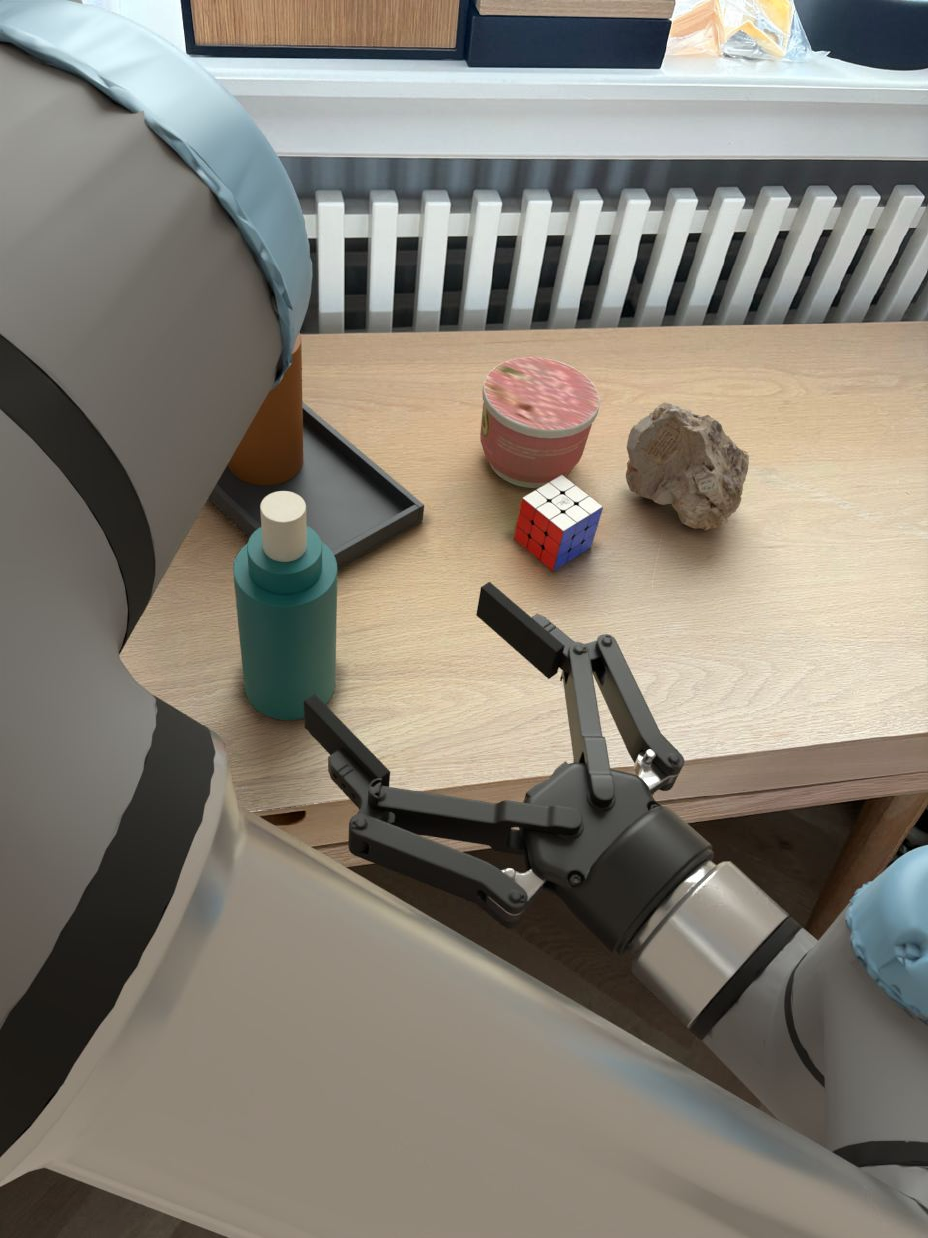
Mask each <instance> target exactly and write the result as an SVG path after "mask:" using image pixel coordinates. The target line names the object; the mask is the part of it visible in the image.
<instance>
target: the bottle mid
mask: <svg viewBox="0 0 928 1238" xmlns="http://www.w3.org/2000/svg"><path fill="white" fill-rule="evenodd" d="M302 350H303V349H302V335H301V333H300V331H299V334H298V337H297V339H296V342H295V346H294V349H293V352H292V364H291V365H290V366H289V368H288V369H287V370H286V372H285V373H284V376H283V378H282V380H281V382H280V383H279V384H278V385H277V386H276V387H275V388H273V389H272V390H271V391H269V393H268V395H267V396H266V398H265V400H264V402H263V403H262V405H261V407H260V409H259V410H258V412H257V414H256V416H255V417H254V419H253V421H252V423H251V424H250V426H249V428H248V430H247V431H246V433H245V435H244V437H243V438H242V440H241V442H240V444H239V445H238V447H237V449H236V451H235V452H234V454H233V456H232V458H231V459H230V461H229V463H228V468H229V469H230V471H231V472H232V473H233V474H234V475H235V476H236V477H237V478H239V479H240V480H242V481H245V482H247V483H250V484H255V485H275V484H280V483H283V482H285V481H288V480H290V479H291V478H293V477H294V476H295V475H296V474H297V473H298V472H299V471H300V470H301V468H302V465H303V406H302V402H303V361H302V359H303V356H302V355H303V354H302V352H303V351H302Z"/></svg>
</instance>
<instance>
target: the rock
mask: <svg viewBox="0 0 928 1238" xmlns="http://www.w3.org/2000/svg"><path fill="white" fill-rule="evenodd" d="M626 451H627V455H628V459H629V460H628V461H627V462H626V470H625V480H626V484H627V486H628V488H629V490H630V492H631V493H634V494H636V495H638V496H641V497H642V498H645V499H648V500H652V501H653V503H656V504H658V505H662V506H667V505H669V504H671V507H672V508H673V509H674V510H675V511H676V513H677V515H678V518H679V520H680V522H681V523H682V524H684V525H686V526H687V527H689V528H691V529H703V530H704V531H708V530H709V529H716V528H717V527H718V526H720V525H723V524H725V523H727V522H728V519H729V517H730V516H732V514H734V513H735V512H736V511H737V509H738V508H739V507H740V504H741V502H742V499H743V498H742V495H743V491H744V483H745V481H746V478H747V474H748V471H749V464H750V455H749V454H748V453H749V452H748V451H746V450H744V449H743V450H742V449H741V448H740V447H738V446H737V444H736V443H735V442H734V441H733V440H732V439H731V438H730V436H729V435H727V434H726V432H725V430H724V429H723V425H722V424H721V423H720V422H719V421H718V420H716V418H714V417H711V416H710V415H709V414H706V415H703V416H702V415H700V414H697V413H693V411H692V410H689V409H685V408H682V407H681V406H678V405H677V404H672V403H670V402H662V403H660V404H659V405H658V406H657V407H656V408H654V409H653V411H652V412H650V413H649V414H648V415H646V416H645V417H643V418H642V419H640V420H639V421H638V422H637V424H634V425H633V426H632V428H630V431H629V434H628V438H627V443H626Z"/></svg>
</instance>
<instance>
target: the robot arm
mask: <svg viewBox="0 0 928 1238" xmlns="http://www.w3.org/2000/svg"><path fill="white" fill-rule="evenodd" d="M306 228H307V227H306V219H305V216H304V213H303V210H302V207H301V203H300V200H299V197H298V194H297V192H296V190H295V188H294V185H293V183H292V181H291V178H290V177H289V174H288V173H287V171H286V169H285V167H284V164H283V163H282V161H281V159H280V157H279V156H278V154H277V152H276V150H275V149H274V147H273V146H272V144H271V143H270V141H269V140H268V138H267V136H266V135H265V134H264V132H263V131H262V130H261V128H260V127H259V126H258V124H257V123H256V121H255V120H254V119H253V118H252V117H251V115H250V114H249V113H248V112H247V110H246V109H245V107H244V106H243V105H242V103H240V102H239V101H238V100H237V98H236V97H235V96H234V95H233V94H232V93H231V92H230V91H229V90H228V89H227V88H226V87H225V86H224V85H223V84H222V83H221V82H220V81H219V80H218V79H217V78H216V77H215V76H213V74H212V73H211V72H209V71H208V70H207V69H206V68H205V67H203V65H201V64H200V63H199V62H198V61H197V60H195V59H194V58H193V57H191V56H190V55H189V54H188V53H186V52H185V51H183V50H182V49H181V48H179V47H178V46H177V45H175V44H174V43H173V42H171V41H170V40H168V39H167V38H166V37H164V36H162V35H160V34H159V33H157V32H155V31H153V30H152V29H150V28H148V27H146V26H144V25H142V24H140V23H139V22H136V21H135V20H133V19H130V18H129V17H127V16H124V15H121V14H119V13H117V12H114V11H111V10H108V9H105V8H102V7H100V6H97V5H94V4H88V3H86V4H85V3H81V2H77V1H71V0H0V1188H1V1187H3V1186H4V1185H7V1184H8V1183H10V1182H12V1181H14V1180H16V1179H17V1178H19V1177H21V1176H24V1175H25V1174H27V1173H29V1172H33V1171H36V1170H40V1169H41V1170H42V1169H48V1170H50V1171H53V1172H55V1173H57V1174H61V1175H63V1176H66V1177H68V1178H71V1179H74V1180H76V1181H78V1182H81V1183H84V1184H87V1185H90V1186H92V1187H95V1188H97V1189H100V1190H101V1191H102V1190H103V1191H105V1192H107V1193H111V1194H113V1195H116V1196H119V1197H121V1198H123V1199H126V1200H129V1201H132V1202H134V1203H137V1204H139V1205H142V1206H145V1207H147V1208H150V1209H152V1210H155V1211H158V1212H160V1213H163V1214H166V1215H168V1216H171V1217H173V1218H176V1219H179V1220H181V1221H184V1222H187V1223H189V1224H192V1225H195V1226H197V1227H200V1228H202V1229H205V1230H208V1231H211V1232H213V1233H216V1234H218V1235H221V1236H223V1237H227V1238H928V844H926V845H922V846H919V847H916V848H913V849H912V850H909V851H907V852H906V853H904V854H903V855H901V856H899V857H898V858H897V859H895V860H894V861H893V863H891V864H890V865H889V866H888V867H886V868H885V869H884V870H883V871H882V872H881V873H880V874H879V875H878V876H876V877H875V878H874V879H873V880H871V881H866V882H865V883H863V884H862V886H861V887H860V888H857V889H856V890H855V891H854V893H853V896H852V897H851V898H850V899H849V903H848V904H847V905H846V906H845V907H844V909H842V910H841V912H840V913H839V915H838V916H837V917H836V918H835V920H834V921H833V922H832V923H831V925H830V926H829V927H828V928H827V929H826V931H824V933H823V934H822V936H821V937H820V938H819V939H816V937H814V936H813V935H812V934H811V933H810V932H809V931H807V930H806V929H805V928H804V927H803V926H802V925H801V924H800V923H798V922H797V921H796V920H795V919H794V918H793V917H792V916H790V914H789V913H788V912H787V911H786V910H785V909H784V908H783V907H781V906H780V904H778V903H777V902H776V901H775V900H774V899H773V898H771V896H769V894H768V893H766V892H765V891H764V890H763V889H761V888H760V886H759V885H757V884H756V883H755V882H754V881H753V880H752V879H751V878H749V877H748V876H747V875H746V874H745V873H744V872H743V871H742V870H741V869H740V868H739V867H738V866H737V865H736V864H734V863H733V862H732V861H730V860H729V861H728V860H727V861H725V860H724V861H722V862H719V863H718V864H716V863H715V862H713V859H714V857H715V852H714V851H713V845H712V844H711V843H710V842H709V841H708V840H707V839H706V838H704V837H703V836H702V835H701V834H700V833H699V832H698V831H697V830H695V829H694V828H693V826H691V825H690V824H688V822H686V821H685V820H684V819H683V818H682V817H681V816H680V815H679V814H678V813H676V812H675V811H674V810H673V809H672V808H670V807H668V806H665V805H661V804H659V803H658V802H657V800H656V799H655V798H654V796H653V794H654V793H656V792H658V791H661V792H669V791H670V790H672V789H673V787H674V785H675V783H676V782H677V779H678V778H679V775H680V773H681V771H682V769H683V767H684V765H685V757H684V756H683V754H682V753H681V752H679V750H678V749H677V748H676V747H675V746H674V745H673V743H671V742H670V741H669V739H667V738H666V737H665V736H664V735H663V734H662V732H661V730H660V728H659V726H658V724H657V722H656V720H655V718H654V716H653V713H652V712H651V709H650V707H649V705H648V703H647V702H646V699H645V697H644V695H643V693H642V691H641V689H640V687H639V685H638V683H637V681H636V678H635V677H634V675H633V672H632V670H631V668H630V667H629V664H628V662H627V660H626V658H625V656H624V654H623V651H622V650H621V648H620V646H619V644H618V642H617V640H616V638H615V637H614V636H612V635H611V634H608V633H602V634H600V635H599V636H597V639H596V640H594V641H590V642H587V643H583V642H580V641H574V640H573V639H572V638H571V637H569V636H568V635H567V634H566V633H565V632H564V631H562V630H561V628H559V627H557V625H555V624H554V623H553V622H552V621H551V620H549V619H548V618H547V617H546V616H544V615H542V614H540V613H536V614H534V615H533V616H530V615H529V614H528V613H527V612H526V611H525V610H524V609H522V608H521V607H520V606H519V605H517V604H516V603H515V602H514V601H513V600H512V599H511V598H510V597H509V596H507V595H506V594H505V593H504V592H503V591H502V590H500V589H499V588H498V587H497V586H495V585H494V584H493V583H492V582H491V581H487V583H485V584H483V585H482V586H481V587H480V591H479V597H478V602H477V608H476V614H475V616H476V617H477V618H479V620H481V621H482V622H483V623H484V624H485V625H486V626H488V627H489V629H491V630H492V631H493V632H494V633H496V634H497V635H498V636H499V637H500V638H501V639H502V640H503V641H505V642H506V643H507V644H508V645H509V646H510V647H511V648H512V649H514V650H515V651H516V652H517V653H518V654H519V655H520V656H522V657H523V659H525V660H526V661H527V662H528V663H529V664H531V665H532V666H533V667H534V668H535V669H536V670H538V671H539V672H540V673H541V674H542V675H543V676H544V677H545V678H547V679H548V680H550V679H551V678H553V677H555V676H556V675H557V674H558V672H559V669H560V670H561V673H560V678H559V682H562V685H563V692H564V699H565V706H566V713H567V714H566V715H567V720H568V728H569V734H570V743H571V749H572V758H573V762H571V763H568V762H567V761H564V762H562V763H561V764H560V765H559V766H558V767H556V768H555V769H554V771H553V773H551V776H550V777H549V778H548V779H546V780H544V781H542V782H540V783H537V784H535V785H534V786H533V787H531V788H530V789H529V790H528V791H526V792H525V796H524V798H523V801H515V800H507V799H505V800H500V801H498V802H489V801H483V800H477V799H470V798H465V797H464V798H462V797H458V796H457V797H456V796H450V795H444V794H438V793H432V792H425V791H420V790H419V791H418V790H413V789H412V790H411V789H406V788H399V787H394V786H390V781H391V770H390V769H388V767H387V766H386V765H385V764H383V762H382V761H381V760H380V759H379V758H378V757H377V756H376V755H375V754H374V752H372V751H371V750H370V749H369V748H368V746H366V745H365V744H364V743H363V742H362V740H360V739H359V737H358V736H356V734H355V733H354V732H353V731H352V730H350V729H349V727H348V726H346V724H345V723H344V722H343V721H342V720H341V719H340V718H339V717H338V716H337V715H336V714H335V713H334V712H333V710H331V709H330V707H328V706H327V705H325V704H324V703H323V702H322V701H321V700H320V699H319V698H318V697H317V696H316V695H315V694H313V695H312V696H310V697H309V698H307V699H306V700H304V718H303V719H304V720H303V721H304V729H305V730H306V731H307V732H308V733H309V734H310V735H311V737H313V738H314V740H315V741H316V742H317V743H318V744H319V745H320V746H321V747H322V748H323V749H324V750H325V751H326V753H327V754H329V756H327V771H328V774H329V776H330V779H331V781H332V782H333V784H335V785H336V786H337V787H338V788H339V789H340V790H341V791H342V792H343V793H344V795H345V796H346V797H347V798H348V799H349V800H350V801H351V802H352V803H353V804H354V805H355V806H356V808H357V809H358V811H357V813H356V814H355V815H353V816H351V818H349V822H348V841H347V842H348V847H347V848H348V851H349V852H350V854H351V855H353V856H355V857H358V858H360V859H363V860H364V861H368V862H370V863H373V864H375V865H377V866H380V867H382V868H384V869H385V868H386V869H388V870H390V871H393V872H395V873H397V874H401V875H403V876H405V877H408V878H410V879H413V880H415V881H418V882H421V883H423V884H425V885H428V886H430V887H433V888H436V889H437V890H440V891H442V892H445V893H448V894H450V895H453V896H456V897H458V898H461V899H462V900H465V901H468V902H470V903H473V904H476V905H477V906H478V907H479V908H481V909H482V910H483V911H484V912H486V913H487V914H488V915H489V916H490V917H491V918H493V919H494V920H495V921H496V922H497V923H499V924H500V925H501V926H502V927H504V928H506V929H507V928H508V929H515V928H516V927H518V926H519V925H520V923H521V921H522V918H523V915H524V912H525V910H526V909H527V908H528V906H529V905H530V904H531V903H532V902H533V901H534V899H535V898H537V896H538V895H539V894H540V893H541V892H542V891H546V892H548V893H551V894H553V895H555V896H557V897H558V898H560V900H561V901H562V902H563V903H564V905H566V907H567V908H568V910H569V911H570V912H571V914H572V915H573V916H574V917H575V918H577V919H578V920H579V922H580V923H581V924H583V926H584V927H585V928H587V930H588V931H589V932H591V933H592V934H593V935H594V936H595V937H596V939H598V941H599V942H600V943H601V944H603V946H604V947H606V948H607V950H608V951H609V952H610V953H612V955H614V956H616V955H619V956H621V957H623V956H625V955H628V954H630V955H631V956H632V957H633V958H632V959H631V963H630V969H631V973H632V974H633V975H634V976H635V977H636V978H637V979H638V980H639V981H640V982H641V983H642V984H643V985H644V986H645V987H646V988H647V989H648V990H649V991H650V992H651V993H652V994H653V995H654V996H655V997H656V998H657V999H658V1000H659V1001H660V1002H661V1003H662V1004H663V1005H664V1006H665V1007H666V1008H667V1009H668V1010H669V1011H671V1012H672V1014H673V1015H674V1016H675V1017H677V1019H678V1020H679V1021H680V1022H681V1023H682V1024H683V1025H684V1026H685V1027H687V1028H688V1029H689V1031H690V1032H691V1033H692V1034H693V1035H694V1036H695V1037H696V1038H697V1040H701V1042H702V1043H703V1044H704V1045H705V1046H706V1047H707V1048H708V1049H709V1050H710V1051H711V1052H712V1053H713V1054H714V1055H715V1056H716V1057H717V1058H718V1059H719V1060H720V1061H721V1062H722V1063H723V1064H724V1066H726V1067H727V1068H728V1069H729V1070H730V1072H732V1074H733V1075H734V1076H735V1077H736V1078H737V1079H738V1080H739V1081H740V1082H741V1083H742V1084H743V1085H744V1086H745V1087H746V1088H747V1089H748V1090H749V1092H751V1093H752V1094H753V1095H754V1096H755V1097H756V1098H757V1099H758V1100H759V1101H760V1102H761V1104H762V1105H763V1106H765V1107H766V1109H768V1111H769V1112H770V1113H771V1114H772V1115H773V1116H774V1117H775V1118H774V1117H773V1116H771V1115H770V1114H768V1113H766V1112H764V1111H763V1110H761V1109H759V1108H757V1107H755V1106H754V1105H752V1104H751V1103H749V1102H748V1101H746V1100H743V1098H741V1097H739V1096H737V1095H735V1094H733V1093H732V1092H730V1091H729V1090H727V1089H725V1088H723V1087H722V1086H720V1085H718V1084H716V1083H715V1082H713V1081H711V1080H710V1079H708V1078H706V1077H705V1076H702V1074H699V1073H698V1072H696V1071H694V1070H693V1069H691V1068H690V1067H687V1066H686V1065H684V1064H683V1063H681V1062H679V1061H677V1060H676V1059H674V1058H672V1057H670V1056H669V1055H667V1054H665V1053H664V1052H662V1051H660V1050H659V1049H656V1048H655V1047H653V1046H651V1045H650V1044H648V1043H647V1042H645V1041H643V1040H641V1039H639V1038H638V1037H636V1036H635V1035H633V1034H631V1033H629V1032H628V1031H626V1030H625V1029H622V1027H619V1026H618V1025H616V1024H614V1023H612V1021H609V1020H607V1019H606V1018H603V1017H602V1016H601V1015H599V1014H597V1013H595V1012H594V1011H592V1010H590V1009H588V1008H587V1007H585V1006H584V1005H582V1004H580V1003H578V1002H577V1001H575V1000H574V999H571V998H569V997H568V996H566V995H564V994H563V993H561V992H560V991H557V990H556V989H555V988H552V987H551V986H549V985H548V984H546V983H544V982H542V981H541V980H540V979H537V978H536V977H534V976H532V975H530V974H529V973H527V972H525V971H523V970H521V969H520V968H519V967H516V966H515V965H513V964H512V963H510V962H508V961H507V960H505V959H504V958H501V957H500V956H498V955H496V954H494V953H493V952H491V951H490V950H489V949H487V948H484V947H483V946H481V945H480V944H477V943H476V942H474V941H473V940H470V939H469V938H467V937H466V936H464V935H463V934H461V933H459V932H457V931H456V930H453V929H452V928H450V927H449V926H447V925H445V924H443V923H441V922H440V921H438V920H437V919H435V918H433V917H432V916H430V915H428V914H426V913H425V912H423V911H421V910H419V909H418V908H416V907H414V906H413V905H411V904H409V903H407V902H406V901H404V900H403V899H401V898H399V897H397V896H396V895H394V894H392V893H390V892H388V891H387V890H385V888H382V887H380V886H378V885H377V884H375V883H374V882H372V881H370V880H368V879H367V878H365V877H363V876H361V875H360V874H358V873H356V872H354V871H353V870H351V869H349V868H348V867H346V866H344V865H343V864H341V863H339V862H337V861H336V860H335V859H332V858H331V857H329V856H328V855H326V854H324V853H322V852H321V851H319V850H317V849H315V848H313V847H312V846H310V845H309V844H307V843H305V842H303V841H302V840H301V839H298V838H297V837H295V836H294V835H291V834H290V833H288V832H287V831H284V830H283V829H281V828H280V827H278V826H276V825H274V824H273V823H271V822H270V821H268V820H266V819H264V818H262V817H261V816H259V815H257V814H256V813H254V812H253V811H250V810H249V809H247V808H246V807H244V806H242V805H240V803H239V801H238V799H237V794H236V788H235V785H234V780H233V774H232V771H231V766H230V760H229V756H228V751H227V748H226V743H225V742H224V740H223V738H222V737H221V735H219V734H218V733H216V732H215V731H213V730H212V729H211V728H209V727H207V726H206V725H205V724H202V723H201V722H199V721H198V720H195V719H194V718H193V717H191V716H189V715H187V714H186V713H184V712H182V711H181V710H180V709H177V708H176V707H174V706H173V705H171V704H170V703H168V702H166V701H164V700H163V699H161V698H159V697H158V696H156V695H154V694H153V693H152V692H150V691H149V690H148V689H147V688H145V687H144V686H143V685H142V684H141V683H139V682H138V681H137V680H136V679H135V678H134V676H133V675H132V674H131V672H130V671H129V669H128V668H127V666H126V665H125V663H124V662H123V661H122V659H121V653H122V651H123V649H124V648H125V646H126V644H127V642H128V640H129V639H130V637H131V635H132V634H133V632H134V630H135V628H136V626H137V625H138V623H139V621H140V619H141V618H142V616H143V614H144V613H145V611H146V609H147V607H148V605H149V603H150V602H151V600H152V598H153V597H154V594H155V592H156V591H157V588H158V587H159V585H160V584H161V581H162V580H163V578H164V576H165V575H166V573H167V571H168V570H169V568H170V566H171V564H172V562H173V561H174V559H175V558H176V555H177V553H178V552H179V550H180V549H181V547H182V545H183V544H184V542H185V540H186V539H187V536H188V535H189V534H190V531H191V529H192V527H193V526H194V524H195V522H196V521H197V519H198V517H199V515H200V513H201V512H202V510H203V508H204V507H205V505H206V503H207V501H208V500H209V499H208V498H209V496H210V494H211V493H212V491H213V489H214V487H215V486H216V484H217V482H218V480H219V479H220V477H221V475H222V473H223V472H224V470H225V468H226V466H227V465H228V463H229V461H230V459H231V458H232V456H233V454H234V452H235V451H236V449H237V447H238V445H239V444H240V442H241V440H242V438H243V437H244V435H245V433H246V431H247V430H248V428H249V426H250V424H251V423H252V421H253V419H254V417H255V416H256V414H257V412H258V410H259V409H260V407H261V405H262V403H263V402H264V400H265V398H266V396H267V395H268V393H269V391H271V390H272V389H273V388H275V387H276V386H277V385H278V384H279V383H280V382H281V380H282V378H283V376H284V373H285V372H286V370H287V369H288V368H289V366H290V365H291V364H292V352H293V349H294V346H295V342H296V339H297V337H298V334H299V332H300V331H301V329H302V326H303V323H304V321H305V318H306V315H307V312H308V308H309V304H310V299H311V295H312V286H313V285H312V284H313V262H312V259H311V253H310V252H311V249H310V247H311V246H310V241H309V238H308V232H307V229H306ZM594 679H595V680H594ZM595 682H596V684H597V687H598V688H599V691H600V693H601V695H602V697H603V699H604V702H605V704H606V706H607V708H608V711H609V712H610V714H611V718H612V720H613V722H614V724H615V726H616V729H617V730H618V732H619V735H620V737H621V739H622V742H623V744H624V746H625V748H626V750H627V752H628V755H629V756H630V758H631V760H632V762H633V763H634V764H633V770H634V772H635V774H634V773H630V772H626V771H621V770H616V769H612V768H611V763H610V758H609V752H608V746H607V740H606V737H605V736H603V730H602V725H601V719H600V718H601V717H600V711H599V706H598V699H597V693H596V687H595ZM514 828H518V829H514ZM425 836H426V837H425ZM428 837H432V838H438V839H444V840H452V841H456V842H457V841H458V842H464V843H471V844H477V845H483V846H488V847H490V848H491V849H492V850H493V851H495V852H499V853H505V854H512V855H517V856H518V855H519V856H523V859H524V865H525V872H519V871H516V870H515V869H514V868H512V867H507V868H503V869H500V868H499V867H497V866H495V865H493V864H492V863H490V862H488V861H486V860H483V859H481V858H479V857H476V856H474V855H471V854H468V853H466V852H464V851H461V850H458V849H456V848H453V847H451V846H448V845H445V844H442V843H440V842H437V841H436V840H433V839H430V838H428ZM789 916H790V917H789Z"/></svg>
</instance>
